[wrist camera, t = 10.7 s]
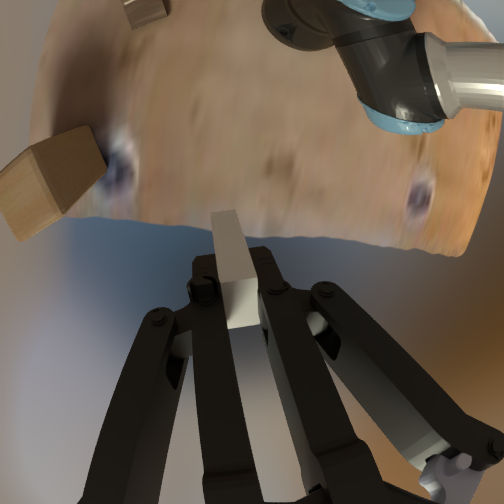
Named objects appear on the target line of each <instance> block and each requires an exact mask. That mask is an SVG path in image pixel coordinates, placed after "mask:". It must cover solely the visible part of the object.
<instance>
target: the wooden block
mask: <svg viewBox="0 0 504 504" xmlns="http://www.w3.org/2000/svg"><path fill="white" fill-rule="evenodd" d="M106 172H107V166H106V164H105V162H104V159H103V157H102V155H101V152H100V150H99V148H98V146H97V143H96V141H95V138H94V136H93V134H92V131H91V129H90V127H89V126H88V125H83V126H80V127H77V128H74V129H72V130H69V131H66V132H63V133H61V134H58V135H55V136H53V137H50V138H48V139H45V140H43V141H41V142H38V143H36V144H34V145H31V146H29V147H28V148H27V149H25V150H24V151H23V152H22V153H20V154H19V155H18V156H17V157H16V158H15V159H13V160H12V161H11V162H10V163H9V164H8V165H7V166H6V167H5V168H4V169H3V170H2V171H0V210H1V212H2V214H3V216H4V218H5V220H6V222H7V224H8V225H9V227H10V229H11V230H12V232H13V234H14V236H15V237H16V239H17V240H18V241H19V242H22V241H26V240H27V239H28V238H30V237H31V236H33V235H35V234H36V233H38V232H39V231H41V230H43V229H44V228H45V227H47V226H49V225H50V224H52V223H53V222H56V221H57V220H59V219H61V218H62V217H63V216H64V215H65V214H66V213H67V212H68V211H69V210H70V208H71V207H72V206H73V205H74V204H75V203H76V202H77V201H78V200H79V199H80V198H81V197H82V196H83V195H84V194H85V193H86V192H87V191H88V190H89V189H90V188H91V187H92V186H93V185H94V184H95V183H96V182H97V181H98V180H99V179H100V178H101V177H102V176H103V175H104V174H105V173H106Z"/></svg>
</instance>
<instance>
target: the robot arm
mask: <svg viewBox="0 0 504 504" xmlns="http://www.w3.org/2000/svg"><path fill="white" fill-rule="evenodd" d="M414 1H415V0H263V3H262V9H261V12H262V18H263V21H264V23H265V25H266V27H267V29H268V30H269V31H270V33H271V34H272V35H273V36H274V37H275V38H276V39H278V40H279V41H280V42H282V43H283V44H285V45H287V46H289V47H291V48H294V49H297V50H302V51H318V50H322V49H326V48H329V47H331V46H333V45H335V48H336V49H337V51H338V53H339V55H340V57H341V59H342V61H343V63H344V65H345V67H346V69H347V71H348V74H349V76H350V78H351V80H352V82H353V84H354V87H355V89H356V91H357V97H358V100H359V101H360V102H361V104H362V105H363V107H364V109H365V112H366V114H367V116H368V118H369V119H370V121H372V122H373V124H375V125H376V126H377V127H379V128H381V129H383V130H385V131H388V132H392V133H397V134H404V135H420V134H422V133H423V132H427V133H431V132H434V131H437V130H438V129H440V128H441V127H442V126H443V124H444V121H445V119H454V118H455V116H456V115H457V114H458V112H459V111H460V110H461V109H463V108H471V109H483V110H493V111H501V112H504V44H503V43H491V42H445V41H443V40H441V39H440V38H438V37H437V36H436V35H434V34H433V33H431V32H424V33H417V32H416V30H415V28H414V26H413V24H412V22H411V19H410V16H411V14H412V13H413V12H414V10H415V8H416V4H415V3H414ZM210 215H211V223H212V231H213V239H214V247H215V254H209V255H203V256H196V258H195V259H194V261H193V263H192V275H193V276H192V278H191V280H190V281H189V282H188V283H187V290H188V294H189V297H190V303H189V304H188V305H187V306H185V307H184V308H182V309H180V310H177V311H175V312H173V311H172V310H170V309H169V308H165V307H160V308H155V309H153V310H151V311H150V312H148V313H147V314H146V316H145V317H144V319H143V321H142V323H141V326H140V328H139V330H138V333H137V335H136V338H135V340H134V343H133V345H132V347H131V349H130V352H129V354H128V357H127V359H126V362H125V364H124V367H123V369H122V372H121V375H120V377H119V380H118V383H117V385H116V388H115V391H114V393H113V396H112V399H111V402H110V405H109V408H108V410H107V413H106V416H105V419H104V422H103V425H102V428H101V431H100V435H99V438H98V441H97V444H96V447H95V451H94V454H93V458H92V461H91V465H90V469H89V472H88V476H87V480H86V484H85V488H84V492H83V496H82V498H81V499H80V501H79V502H78V503H77V504H158V501H159V496H160V490H161V484H162V479H163V473H164V469H165V464H166V458H167V453H168V449H169V444H170V438H171V434H172V429H173V425H174V420H175V415H176V411H177V407H178V402H179V398H180V393H181V389H182V385H183V380H184V376H185V372H186V368H187V364H188V360H189V356H191V355H193V368H194V383H195V395H196V406H197V415H198V416H197V417H198V426H199V435H200V444H201V450H202V459H203V466H204V474H203V479H202V485H203V493H204V499H205V504H469V503H470V501H471V499H472V497H473V495H474V493H475V491H476V489H477V487H478V485H479V483H480V481H481V478H482V476H483V474H484V471H485V470H486V469H487V468H489V467H491V466H493V465H495V464H497V463H499V462H500V461H501V460H502V459H503V457H504V434H503V433H502V432H501V431H499V430H497V429H495V428H493V427H491V426H489V425H487V424H485V423H483V422H481V421H479V420H477V419H475V418H473V417H471V416H469V415H467V414H465V413H464V412H463V410H462V409H461V408H460V407H459V406H458V405H457V404H456V403H455V402H454V401H453V400H452V398H451V397H450V396H449V395H448V394H447V393H446V392H445V391H444V390H443V389H442V388H441V387H440V386H439V385H438V384H437V383H436V381H435V380H434V379H433V378H432V377H431V376H430V375H429V374H428V373H427V372H426V371H425V370H424V369H423V368H422V367H421V366H420V365H419V364H418V363H417V362H416V361H415V360H414V359H413V358H412V357H411V356H410V355H409V354H408V353H407V352H406V351H405V350H404V349H403V348H402V347H401V346H400V345H399V344H398V343H397V342H396V341H395V340H394V339H393V338H392V337H391V336H390V335H389V334H388V333H387V332H386V331H385V330H384V329H383V328H382V327H381V326H380V325H379V324H378V323H377V322H376V321H375V320H374V319H373V318H372V317H371V316H370V315H369V314H368V313H367V312H365V310H363V309H362V308H361V307H360V306H359V305H358V304H357V303H356V302H355V301H354V300H353V299H352V298H351V297H350V296H349V295H348V294H347V293H345V292H344V291H343V290H342V289H341V288H340V287H339V286H338V285H336V284H335V283H332V282H327V281H322V282H318V283H316V284H314V285H313V286H312V288H311V290H300V289H295V288H292V287H291V286H290V284H289V283H288V282H286V281H284V280H283V277H282V275H281V273H280V271H279V268H278V266H277V264H276V262H275V259H274V258H273V255H272V253H271V251H270V250H269V249H268V248H266V247H265V246H261V247H254V248H248V247H247V244H246V241H245V238H244V234H243V231H242V228H241V225H240V222H239V219H238V216H237V213H236V210H228V211H221V212H213V213H210ZM259 318H260V320H259ZM260 322H261V325H262V343H265V346H266V350H267V353H268V357H269V361H270V364H271V368H272V371H273V375H274V378H275V382H276V385H277V389H278V392H279V396H280V399H281V403H282V406H283V410H284V413H285V416H286V420H287V423H288V427H289V430H290V434H291V437H292V440H293V444H294V447H295V451H296V454H297V457H298V461H299V464H300V467H301V476H302V481H303V485H304V488H305V492H306V495H307V496H305V497H303V498H301V499H299V500H297V501H296V502H285V503H284V502H280V503H279V502H278V503H277V502H264V500H263V496H262V493H261V488H260V484H259V480H258V476H257V472H256V467H255V463H254V458H253V454H252V450H251V445H250V441H249V436H248V431H247V427H246V422H245V417H244V412H243V407H242V402H241V397H240V393H239V387H238V382H237V377H236V372H235V366H234V361H233V355H232V350H231V344H230V338H229V333H228V329H231V328H237V327H243V326H249V325H255V324H259V323H260ZM323 358H324V359H323ZM324 360H325V361H326V362H327V363H328V365H329V366H330V367H331V368H332V369H333V371H334V372H335V373H336V375H337V376H338V377H339V378H340V380H341V381H342V382H343V383H344V385H345V386H346V387H347V388H348V390H349V391H350V392H351V393H352V395H353V396H354V397H355V398H356V400H357V401H358V402H359V403H360V405H361V406H362V407H363V408H364V410H365V411H366V412H367V413H368V414H369V416H370V417H371V418H372V419H373V421H374V422H375V423H376V424H377V426H378V427H379V428H380V429H381V431H382V432H383V433H384V434H385V435H386V437H387V438H388V439H389V440H390V442H391V443H392V444H393V445H394V446H395V448H396V449H397V450H398V451H399V453H400V454H401V455H402V456H403V457H404V458H405V459H406V460H407V461H408V462H409V463H410V464H412V465H413V466H414V467H415V468H417V469H419V470H420V471H422V474H421V476H420V478H419V483H420V485H421V486H424V487H425V488H426V489H427V490H428V491H429V493H430V495H431V500H428V499H425V498H423V497H420V496H418V495H415V494H412V493H410V492H408V491H406V490H403V489H401V488H399V487H396V486H394V485H392V484H390V483H387V482H385V481H383V480H382V477H381V475H380V473H379V470H378V467H377V465H376V463H375V460H374V458H373V456H372V453H371V451H370V449H369V447H368V445H367V444H366V443H365V442H364V441H363V440H361V439H359V438H358V437H357V436H356V434H355V432H354V429H353V427H352V425H351V422H350V420H349V417H348V415H347V412H346V410H345V408H344V405H343V403H342V401H341V398H340V396H339V393H338V391H337V389H336V386H335V384H334V382H333V379H332V377H331V375H330V372H329V370H328V368H327V366H326V363H325V361H324Z"/></svg>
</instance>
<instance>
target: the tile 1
mask: <svg viewBox="0 0 504 504" xmlns="http://www.w3.org/2000/svg"><path fill="white" fill-rule="evenodd" d="M121 1H122V4H123V7H124V9H125V12H126V15H127V17H128V20H129V23H130V25H131V28H132V30H133V29H136V28H138V27H141V26H143V25H145V24H148V23H150V22H153V21H156V20H158V19H161V18H164V17H167V13H166V10H165V7H164V4H163V1H162V0H121Z"/></svg>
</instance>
